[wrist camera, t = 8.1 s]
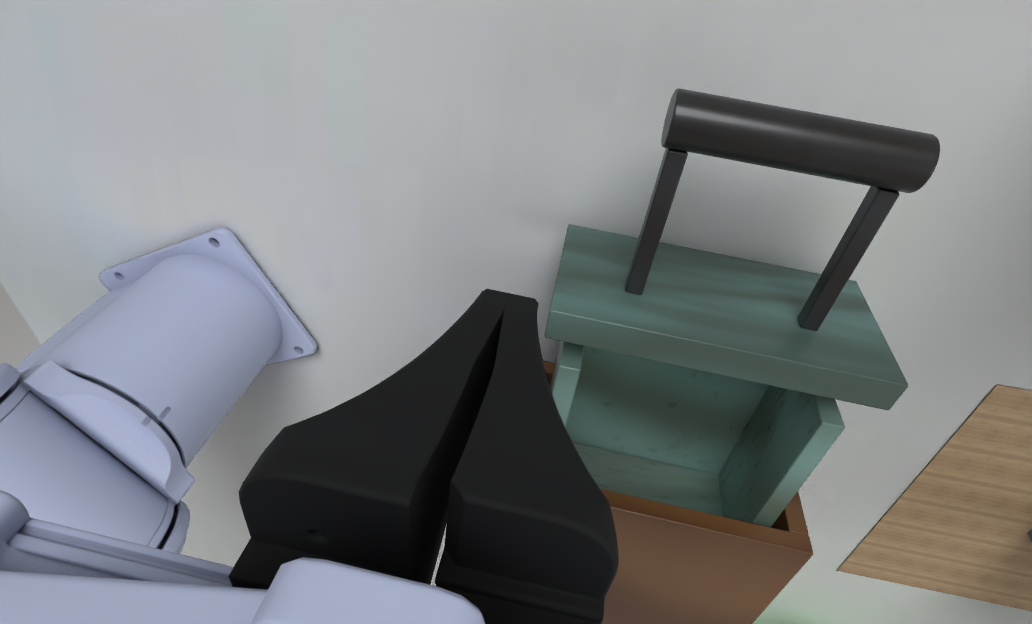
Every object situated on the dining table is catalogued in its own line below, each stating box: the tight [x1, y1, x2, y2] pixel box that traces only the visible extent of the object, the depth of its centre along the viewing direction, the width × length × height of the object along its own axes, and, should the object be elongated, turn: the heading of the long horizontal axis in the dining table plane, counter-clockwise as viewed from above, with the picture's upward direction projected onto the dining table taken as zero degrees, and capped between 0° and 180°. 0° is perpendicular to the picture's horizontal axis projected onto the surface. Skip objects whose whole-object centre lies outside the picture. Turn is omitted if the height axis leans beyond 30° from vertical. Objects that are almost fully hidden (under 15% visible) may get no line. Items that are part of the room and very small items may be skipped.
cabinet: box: [543, 361, 813, 624], centre depth 30 cm, size 14×13×8 cm
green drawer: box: [544, 89, 940, 527], centre depth 22 cm, size 19×11×6 cm, turn 173°
